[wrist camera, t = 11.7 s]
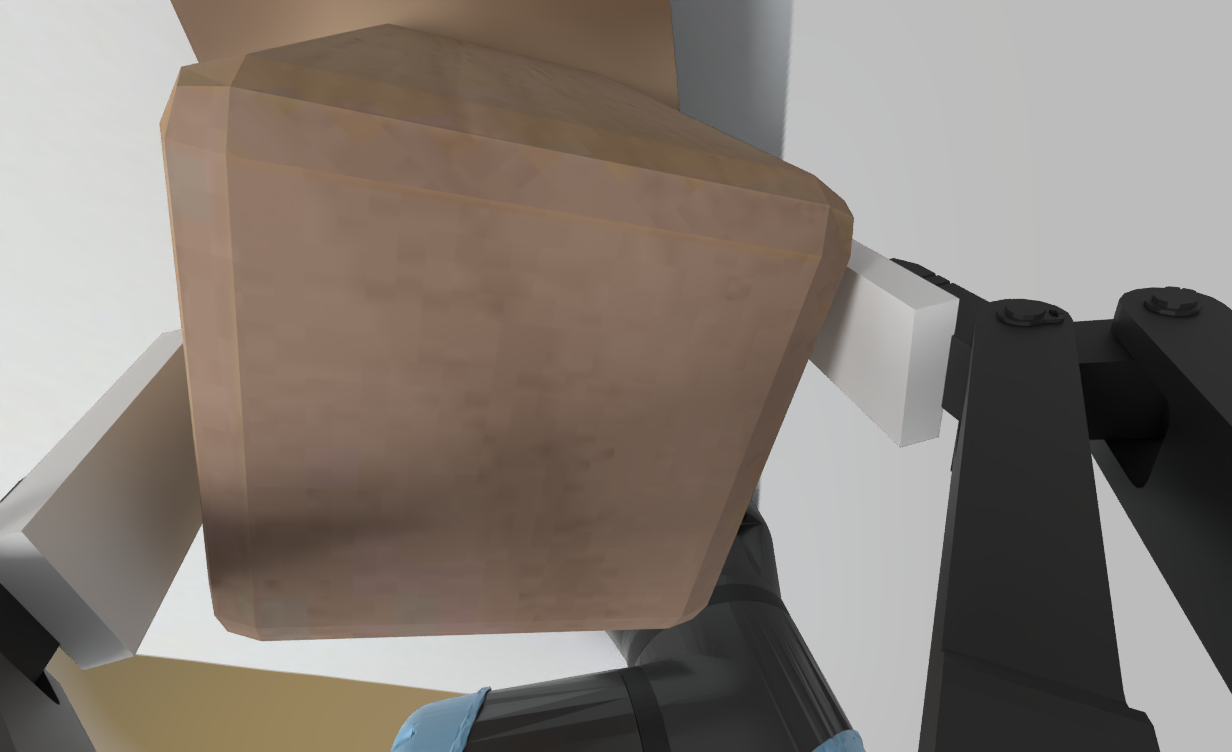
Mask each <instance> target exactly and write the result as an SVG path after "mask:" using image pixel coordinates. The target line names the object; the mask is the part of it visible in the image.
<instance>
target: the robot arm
mask: <svg viewBox="0 0 1232 752" xmlns="http://www.w3.org/2000/svg"><path fill="white" fill-rule="evenodd" d="M809 360H810V361H812V363H814V364H815V365H816V366H817V367H818V368H819V369H820V370H821V371H822V372H823V373H824V374H825V375H826V376H827V377H828V378H829V379H830V380H831V381H832V382H833V383H834V384H835V385H836V386H837V387H838V388H839V389H840V390H841V391H842V392H843V393H844V394H845V395H846V396H847V397H848V398H850V399H851V400H852V401H853V402H854V403H855V404H856V405H857V406H858V407H859V408H860V409H861V410H862V411H863V412H864V413H865V414H866V415H867V416H868V417H869V418H870V419H871V420H872V421H873V422H874V423H875V424H876V425H877V426H878V427H880V429H881V430H882V431H883V432H885V434H887V435H888V436H889V437H890V438H891V439H892V440H893V441H894V442H895V443H896V444H897V445H898V446H899V447H904V446H908V445H911V444H915V443H919V442H922V441H926V440H929V439H934V438H937V437H939V433H940V426H941V419H942V413H943V409H945V410H946V411H947V412H948V413H950V414H951V415H952V416H953V417H955V418H956V419H957V420H958V421H959V423H958V429H957V436H956V441H955V447H954V453H953V459H952V465H951V471H952V476H951V484H950V493H949V501H948V509H947V517H946V525H945V533H944V542H943V550H942V558H941V567H940V575H939V583H938V592H937V600H936V608H935V616H934V625H933V633H932V641H931V649H930V658H929V666H928V675H927V682H926V691H925V699H924V707H923V716H922V724H921V732H920V740H919V749H918V752H1160V750H1159V745H1158V742H1157V738H1156V734H1155V730H1154V726H1153V724H1152V723H1151V721H1150V720H1149V718H1148V716H1147V715H1146V713H1145V712H1142V711H1139V710H1135V709H1132V708H1129V707H1128V705H1127V703H1126V701H1125V696H1124V691H1123V685H1122V677H1121V670H1120V663H1119V656H1118V648H1117V641H1116V633H1115V626H1114V619H1113V611H1112V604H1111V597H1110V589H1109V582H1108V574H1107V567H1106V560H1105V553H1104V545H1103V538H1102V531H1101V523H1100V515H1099V508H1098V501H1097V494H1096V486H1095V479H1094V472H1093V464H1092V457H1091V454H1092V455H1093V457H1094V459H1095V460H1096V462H1097V464H1098V466H1099V467H1100V469H1101V471H1102V472H1103V474H1104V476H1105V478H1106V479H1107V481H1108V482H1109V484H1110V486H1111V488H1112V490H1113V491H1114V493H1115V494H1116V496H1117V498H1118V500H1119V502H1120V503H1121V505H1122V507H1123V508H1124V510H1125V512H1126V514H1127V515H1128V517H1129V519H1130V520H1131V522H1132V524H1133V526H1134V527H1135V529H1136V530H1137V532H1138V534H1139V536H1140V538H1141V539H1142V541H1143V543H1144V544H1145V546H1146V548H1147V550H1148V551H1149V553H1150V555H1151V556H1152V558H1153V560H1154V562H1155V563H1156V565H1157V566H1158V568H1159V570H1160V572H1161V573H1162V575H1163V577H1164V579H1165V580H1166V582H1167V584H1168V585H1169V587H1170V589H1171V591H1172V592H1173V594H1174V596H1175V597H1176V599H1177V601H1178V602H1179V604H1180V606H1181V608H1182V609H1183V611H1184V613H1185V615H1186V616H1187V618H1188V620H1189V621H1190V623H1191V625H1192V626H1193V628H1194V630H1195V632H1196V633H1197V635H1198V637H1199V639H1200V640H1201V642H1202V644H1203V645H1204V647H1205V649H1206V650H1207V652H1208V653H1209V656H1210V657H1211V659H1212V661H1213V662H1214V664H1215V666H1216V668H1217V669H1218V671H1219V673H1220V674H1221V676H1222V678H1223V680H1224V681H1225V683H1226V685H1227V687H1228V688H1229V690H1230V692H1231V693H1232V310H1231V309H1230V308H1229V307H1227V306H1226V305H1225V304H1223V303H1222V302H1220V301H1218V300H1216V299H1214V298H1212V297H1210V296H1207V295H1203V294H1200V293H1197V292H1196V291H1194V290H1190V289H1185V288H1183V289H1180V288H1179V287H1165V288H1144V289H1136V290H1133V291H1130V292H1127V293H1124V294H1123V296H1122V297H1121V298H1120V299H1119V302H1118V305H1117V309H1116V312H1115V315H1114V319H1108V320H1093V321H1079V322H1073V320H1072V318H1071V316H1070V315H1069V313H1068V312H1066V311H1064V310H1063V309H1061V308H1059V307H1057V306H1055V305H1051V304H1048V303H1045V302H1041V301H1034V300H1027V299H1004V300H999V301H993V302H988V301H986V300H984V299H982V298H980V297H979V296H977V295H975V294H973V293H971V292H969V291H967V290H965V289H964V288H962V287H960V286H958V285H956V284H954V283H951V284H950V281H949V280H947V279H945V278H943V277H941V276H939V275H938V276H936V275H935V273H934V272H932V271H930V270H928V269H926V268H924V267H922V266H920V265H919V264H915V263H911V262H907V261H903V260H899V259H895V258H892V259H887V258H885V257H884V256H882V255H880V254H878V253H876V252H875V251H873V250H871V249H869V248H867V247H866V246H864V245H862V244H860V243H858V242H857V241H855V240H853V239H852V247H851V257H850V260H849V262H848V265H847V267H846V269H845V272H844V274H843V277H842V279H841V282H840V284H839V286H838V289H837V291H836V294H835V296H834V299H833V301H832V303H831V306H830V308H829V311H828V313H827V316H826V318H825V320H824V323H823V325H822V328H821V330H820V333H819V335H818V337H817V340H816V342H815V345H814V347H813V350H812V352H811V354H810V357H809ZM201 525H202V514H201V504H200V495H199V486H198V476H197V467H196V458H195V449H194V439H193V430H192V421H191V411H190V402H189V393H188V383H187V374H186V365H185V356H184V346H183V337H182V329H180V330H175V331H171V332H166V333H162V334H161V335H160V336H159V337H158V338H157V339H156V340H155V341H154V343H153V344H152V345H151V346H150V347H149V348H148V349H147V350H146V351H145V352H144V353H143V354H142V355H141V356H140V357H139V358H138V359H137V360H136V361H135V363H134V364H133V365H132V366H131V367H130V368H129V369H128V370H127V371H126V372H125V373H124V374H123V375H122V376H121V377H120V378H119V379H118V380H117V381H116V382H115V384H114V385H113V386H112V387H111V388H110V389H109V390H108V391H107V392H106V393H105V394H104V395H103V396H102V397H101V398H100V399H99V400H98V401H97V402H96V404H95V405H94V406H93V407H92V408H91V409H90V410H89V411H88V412H87V413H86V414H85V415H84V416H83V417H82V418H81V419H80V420H79V421H78V422H77V423H76V425H75V426H74V427H73V428H72V429H71V430H70V431H69V432H68V433H67V434H66V435H65V436H64V437H63V438H62V439H61V440H60V441H59V442H58V443H57V445H56V446H55V447H54V448H53V449H52V450H51V451H50V452H49V453H48V454H47V455H46V456H45V457H44V458H43V459H42V460H41V461H40V462H39V463H38V464H37V466H36V467H35V468H34V469H33V470H32V471H31V472H30V473H29V474H28V475H27V476H26V477H25V478H23V479H22V480H20V481H19V482H18V483H17V484H16V485H15V486H14V487H13V488H12V489H11V490H10V491H9V492H8V494H7V495H6V496H5V497H4V498H3V499H2V500H1V501H0V752H96V750H95V748H94V746H93V744H92V742H91V741H90V739H89V737H88V735H87V733H86V731H85V729H84V728H83V726H82V724H81V722H80V720H79V718H78V716H77V715H76V713H75V711H74V709H73V707H72V705H71V704H70V702H69V700H68V698H67V696H66V694H65V692H64V690H63V688H62V687H61V685H60V683H59V682H58V681H57V680H56V679H55V678H54V677H52V675H51V674H49V673H48V672H47V671H46V670H45V667H46V665H47V664H48V662H49V661H50V659H51V658H52V656H53V655H54V653H55V651H56V650H57V648H58V647H60V648H61V649H62V650H63V651H64V652H65V653H66V654H67V655H68V656H69V657H70V658H71V659H72V660H73V661H74V662H75V663H76V664H77V665H78V666H79V667H80V668H81V669H82V670H85V669H89V668H93V667H96V666H99V665H104V664H107V663H111V662H115V661H118V660H122V659H126V658H129V657H133V656H135V654H136V652H137V650H138V648H139V646H140V644H141V642H142V640H143V638H144V636H145V634H146V632H147V630H148V628H149V626H150V624H151V622H152V620H153V618H154V617H155V615H156V613H157V611H158V609H159V607H160V605H161V603H162V601H163V599H164V597H165V595H166V593H167V591H168V589H169V587H170V585H171V583H172V581H173V579H174V577H175V576H176V574H177V572H178V570H179V568H180V566H181V564H182V562H183V560H184V558H185V556H186V554H187V552H188V550H189V548H190V546H191V544H192V542H193V540H194V538H195V537H196V535H197V533H198V531H199V529H200V527H201ZM606 632H607V633H608V635H609V636H610V638H611V639H612V641H613V642H614V644H615V645H616V646H617V648H618V649H619V651H620V652H621V654H622V655H623V657H624V658H625V660H626V662H627V665H628V668H622V669H614V670H608V671H602V672H597V673H591V674H585V675H580V676H574V677H568V678H563V679H557V680H551V681H545V682H540V683H534V684H528V685H523V686H517V687H511V688H506V689H500V690H493V691H492V690H491V688H490V687H484V688H481V689H480V690H479V691H478V692H477V693H473V694H468V695H464V696H459V697H455V698H451V699H446V700H442V701H438V702H433V703H430V704H427V705H425V706H423V707H421V708H419V709H418V710H417V711H415V712H414V713H413V714H412V715H410V717H409V718H408V719H407V720H406V722H405V723H404V724H403V726H402V727H401V729H400V731H399V733H398V735H397V737H396V739H395V741H394V743H393V746H392V749H391V752H865V750H864V747H863V742H862V739H861V737H860V735H859V733H858V732H857V731H855V730H853V728H852V726H851V724H850V722H849V720H848V719H847V717H846V715H845V713H844V711H843V710H842V708H841V706H840V704H839V703H838V701H837V699H836V697H835V695H834V693H833V692H832V690H831V688H830V686H829V685H828V683H827V681H826V679H825V677H824V675H823V674H822V672H821V670H820V668H819V666H818V664H817V663H816V661H815V659H814V657H813V655H812V654H811V652H810V650H809V648H808V646H807V645H806V643H805V641H804V639H803V637H802V636H801V634H800V632H799V630H798V628H797V627H796V625H795V623H794V621H793V620H792V618H791V616H790V614H789V613H788V611H787V609H786V607H785V605H784V603H783V601H782V599H781V594H780V587H779V581H778V574H777V568H776V562H775V555H774V549H773V542H772V537H771V534H770V531H769V529H768V526H767V524H766V522H765V521H764V519H763V517H762V516H761V514H760V512H759V511H758V509H757V507H756V505H755V504H754V503H753V501H752V500H750V503H749V505H748V507H747V510H746V512H745V515H744V517H743V519H742V522H741V524H740V527H739V529H738V532H737V534H736V536H735V539H734V541H733V544H732V546H731V549H730V551H729V553H728V556H727V558H726V561H725V563H724V566H723V568H722V570H721V573H720V575H719V578H718V580H717V583H716V585H715V587H714V590H713V592H712V595H711V597H710V600H709V602H708V604H707V606H706V607H705V608H704V609H703V610H702V611H700V612H699V613H698V614H697V615H696V616H695V617H694V618H693V619H691V620H688V621H686V622H683V623H681V624H678V625H676V626H673V627H671V628H665V629H633V630H606Z"/></svg>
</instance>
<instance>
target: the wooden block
mask: <svg viewBox="0 0 1232 752" xmlns="http://www.w3.org/2000/svg"><path fill="white" fill-rule="evenodd" d="M160 132H161V142H162V151H163V160H164V169H165V179H166V188H167V197H168V207H169V216H170V225H171V235H172V244H173V253H174V263H175V272H176V281H177V290H178V300H179V309H180V318H181V328H182V337H183V346H184V356H185V365H186V374H187V383H188V393H189V402H190V411H191V421H192V430H193V439H194V449H195V458H196V467H197V476H198V486H199V495H200V504H201V514H202V523H203V532H204V542H205V551H206V560H207V569H208V579H209V586H210V592H211V598H212V604H213V609H214V615H215V616H216V618H217V619H218V620H219V621H220V623H221V624H222V625H223V626H224V628H225V629H226V630H227V631H228V632H232V633H235V634H239V635H242V636H246V637H249V638H252V639H256V640H259V641H282V640H314V639H345V638H377V637H409V636H441V635H473V634H505V633H537V632H569V631H601V630H633V629H665V628H671V627H673V626H676V625H678V624H681V623H683V622H686V621H688V620H691V619H693V618H694V617H695V616H696V615H697V614H698V613H699V612H700V611H702V610H703V609H704V608H705V607H706V606H707V604H708V602H709V600H710V597H711V595H712V592H713V590H714V587H715V585H716V583H717V580H718V578H719V575H720V573H721V570H722V568H723V566H724V563H725V561H726V558H727V556H728V553H729V551H730V549H731V546H732V544H733V541H734V539H735V536H736V534H737V532H738V529H739V527H740V524H741V522H742V519H743V517H744V515H745V512H746V510H747V507H748V505H749V503H750V500H751V498H752V495H753V493H754V490H755V488H756V486H757V483H758V481H759V478H760V476H761V473H762V471H763V468H764V466H765V463H766V461H767V459H768V456H769V454H770V452H771V449H772V446H773V444H774V442H775V439H776V437H777V434H778V432H779V430H780V427H781V425H782V422H783V420H784V418H785V415H786V413H787V410H788V408H789V405H790V403H791V400H792V398H793V395H794V393H795V391H796V388H797V386H798V383H799V381H800V379H801V376H802V374H803V371H804V369H805V366H806V364H807V362H808V359H809V357H810V354H811V352H812V350H813V347H814V345H815V342H816V340H817V337H818V335H819V333H820V330H821V328H822V325H823V323H824V320H825V318H826V316H827V313H828V311H829V308H830V306H831V303H832V301H833V299H834V296H835V294H836V291H837V289H838V286H839V284H840V282H841V279H842V277H843V274H844V272H845V269H846V267H847V265H848V262H849V260H850V257H851V247H852V234H853V221H854V217H853V215H852V213H851V212H850V210H849V208H848V206H847V204H846V203H845V201H844V200H843V199H842V198H841V197H839V196H838V195H837V194H836V193H835V192H833V191H832V190H831V189H830V188H829V187H828V186H826V185H825V184H824V183H823V182H822V181H820V180H819V179H818V178H817V177H816V176H814V175H812V174H811V173H808V172H806V171H804V170H802V169H800V168H798V167H796V166H794V165H791V164H789V163H787V162H785V161H783V160H781V159H779V158H777V157H775V156H772V155H770V154H768V153H766V152H764V151H762V150H760V149H758V148H755V147H753V146H751V145H749V144H747V143H745V142H743V141H741V140H738V139H736V138H734V137H732V136H730V135H728V134H726V133H724V132H722V131H719V130H717V129H715V128H713V127H711V126H709V125H707V124H705V123H702V122H700V121H698V120H696V119H694V118H692V117H690V116H688V115H685V114H683V113H681V112H679V111H677V110H675V109H673V108H671V107H668V106H666V105H664V104H662V103H660V102H658V101H656V100H654V99H651V98H649V97H647V96H645V95H643V94H641V93H639V92H637V91H634V90H632V89H630V88H628V87H626V86H624V85H622V84H620V83H618V82H615V81H613V80H611V79H609V78H607V77H605V76H603V75H601V74H597V73H593V72H589V71H585V70H581V69H577V68H572V67H568V66H564V65H560V64H556V63H552V62H547V61H543V60H539V59H535V58H531V57H527V56H522V55H518V54H514V53H510V52H506V51H502V50H497V49H493V48H489V47H485V46H481V45H477V44H473V43H468V42H464V41H460V40H456V39H452V38H448V37H443V36H439V35H435V34H431V33H427V32H423V31H418V30H414V29H410V28H406V27H402V26H398V25H393V24H389V23H388V24H383V25H377V26H372V27H367V28H362V29H358V30H353V31H348V32H344V33H339V34H334V35H329V36H325V37H320V38H315V39H310V40H306V41H301V42H296V43H292V44H287V45H282V46H277V47H273V48H268V49H263V50H258V51H254V52H249V53H244V54H240V55H235V56H230V57H225V58H221V59H216V60H211V61H207V62H202V63H197V64H192V65H188V66H183V67H181V69H180V72H179V74H178V77H177V80H176V82H175V85H174V87H173V90H172V93H171V95H170V98H169V100H168V103H167V105H166V108H165V111H164V113H163V116H162V118H161V121H160Z"/></svg>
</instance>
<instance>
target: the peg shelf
mask: <svg viewBox="0 0 1232 752" xmlns="http://www.w3.org/2000/svg"><path fill="white" fill-rule="evenodd" d="M171 3H172V5H173V7H174V9H175V11H176V14H177V16H178V18H179V20H180V22H181V25H182V27H183V29H184V31H185V33H186V35H187V38H188V40H189V42H190V44H191V46H192V49H193V51H194V53H195V55H196V57H197V60H198V62H199V63H202V62H207V61H211V60H216V59H221V58H225V57H230V56H235V55H240V54H244V53H249V52H254V51H258V50H263V49H268V48H273V47H277V46H282V45H287V44H292V43H296V42H301V41H306V40H310V39H315V38H320V37H325V36H329V35H334V34H339V33H344V32H348V31H353V30H358V29H362V28H367V27H372V26H377V25H383V24H388V23H389V24H393V25H398V26H402V27H406V28H410V29H414V30H418V31H423V32H427V33H431V34H435V35H439V36H443V37H448V38H452V39H456V40H460V41H464V42H468V43H473V44H477V45H481V46H485V47H489V48H493V49H497V50H502V51H506V52H510V53H514V54H518V55H522V56H527V57H531V58H535V59H539V60H543V61H547V62H552V63H556V64H560V65H564V66H568V67H572V68H577V69H581V70H585V71H589V72H593V73H597V74H601V75H603V76H605V77H607V78H609V79H611V80H613V81H615V82H618V83H620V84H622V85H624V86H626V87H628V88H630V89H632V90H634V91H637V92H639V93H641V94H643V95H645V96H647V97H649V98H651V99H654V100H656V101H658V102H660V103H662V104H664V105H666V106H668V107H671V108H673V109H675V110H677V111H679V112H680V110H679V98H678V87H677V76H676V64H675V53H674V42H673V30H672V19H671V8H670V0H171Z"/></svg>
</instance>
